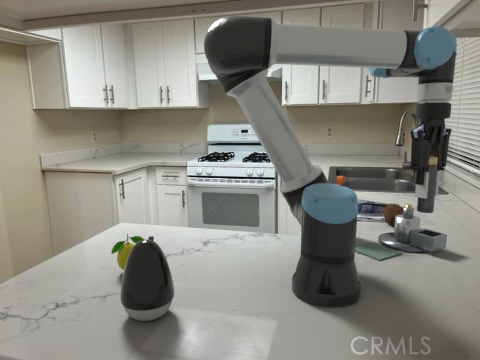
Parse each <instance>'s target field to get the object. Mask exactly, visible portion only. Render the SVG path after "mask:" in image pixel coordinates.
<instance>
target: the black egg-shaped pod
mask: <svg viewBox="0 0 480 360" xmlns="http://www.w3.org/2000/svg"><path fill="white" fill-rule="evenodd" d="M154 240H155V237H154V236H153V235H149V236H148V239H144V240H142V241H139V242H138V243H135V244H134V246H133V248H132V250H131V251H130V253H129V256H128V258H127V261H126V265H125V269H124V270H123V273H122V278H121V285H120V294H119V296H120V303H121V305H122V306H123V309H124V311H125V312H126V314H127V316H129V317H130V318H132V319H133V320H136V321H139V322H140V321H141V322H149V321H154V320H156V319H159V318H161V317H162V316H164V315H165V314H166V313H167V312H168V311H169V309H170V308H171V306H172V302H173V299H174V297H175V286H174V281H173V276H172V272H171V270H170V269H171V268H170V265H169V263H168V260H167V257H166V255H165V253H164V251H163V249H162V248H161V246H160V245H159V244H158V243H157V242H156V241H154Z"/></svg>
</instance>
